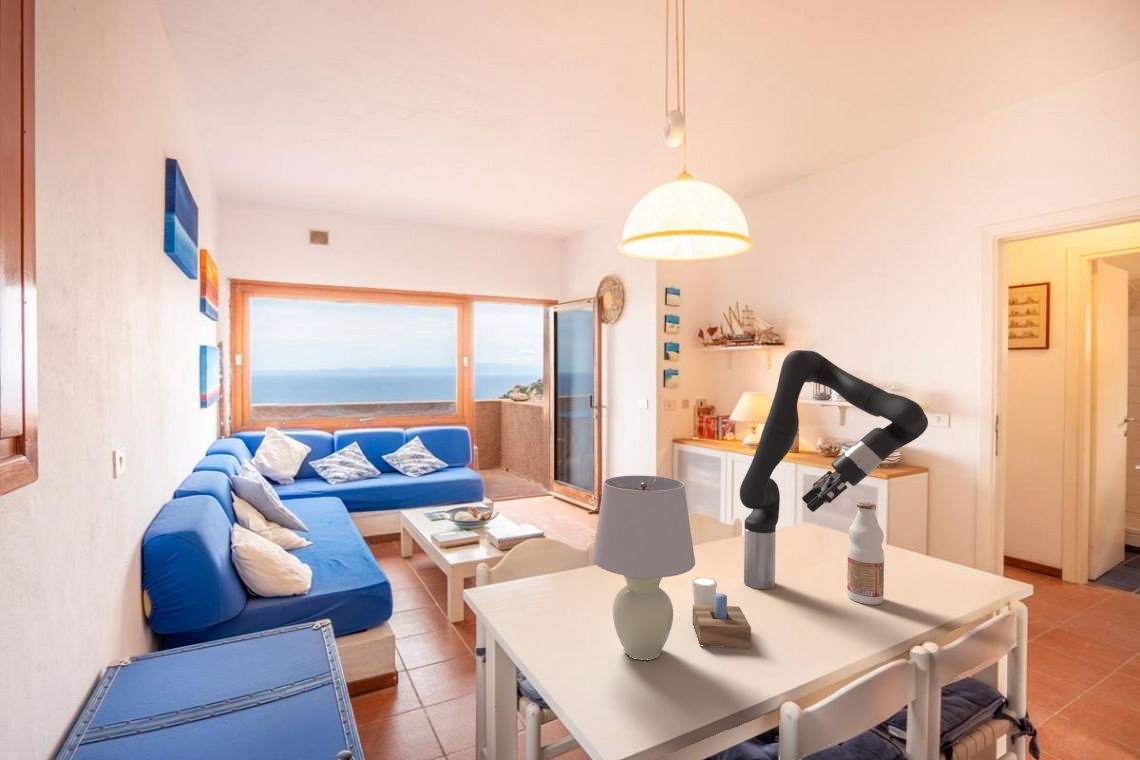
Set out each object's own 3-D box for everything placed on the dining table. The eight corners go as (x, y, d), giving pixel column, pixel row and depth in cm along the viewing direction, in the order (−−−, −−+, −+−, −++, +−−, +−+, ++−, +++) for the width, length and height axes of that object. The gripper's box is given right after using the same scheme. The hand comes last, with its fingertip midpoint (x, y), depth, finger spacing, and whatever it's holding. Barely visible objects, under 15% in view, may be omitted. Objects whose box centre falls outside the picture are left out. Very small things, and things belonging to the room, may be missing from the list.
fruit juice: (858, 605, 159) (859, 507, 158) (840, 592, 168) (842, 500, 168) (890, 605, 159) (891, 507, 159) (871, 592, 168) (872, 500, 168)
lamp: (622, 689, 116) (623, 497, 115) (575, 638, 138) (576, 477, 137) (716, 666, 125) (717, 488, 125) (658, 622, 147) (659, 471, 147)
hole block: (692, 623, 146) (692, 604, 146) (739, 625, 146) (739, 606, 146) (699, 646, 134) (700, 625, 134) (750, 648, 134) (750, 627, 134)
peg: (713, 632, 142) (713, 593, 142) (725, 633, 141) (725, 593, 141) (715, 638, 139) (715, 597, 139) (727, 638, 138) (728, 598, 138)
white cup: (702, 612, 153) (703, 587, 153) (686, 603, 159) (686, 579, 159) (721, 608, 157) (722, 583, 156) (705, 599, 163) (705, 575, 163)
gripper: (839, 448, 148) (792, 488, 151) (851, 456, 134) (799, 500, 138) (860, 469, 147) (813, 509, 150) (875, 479, 133) (822, 523, 136)
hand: (806, 505), depth 144 cm, fingers open, 8 cm apart
